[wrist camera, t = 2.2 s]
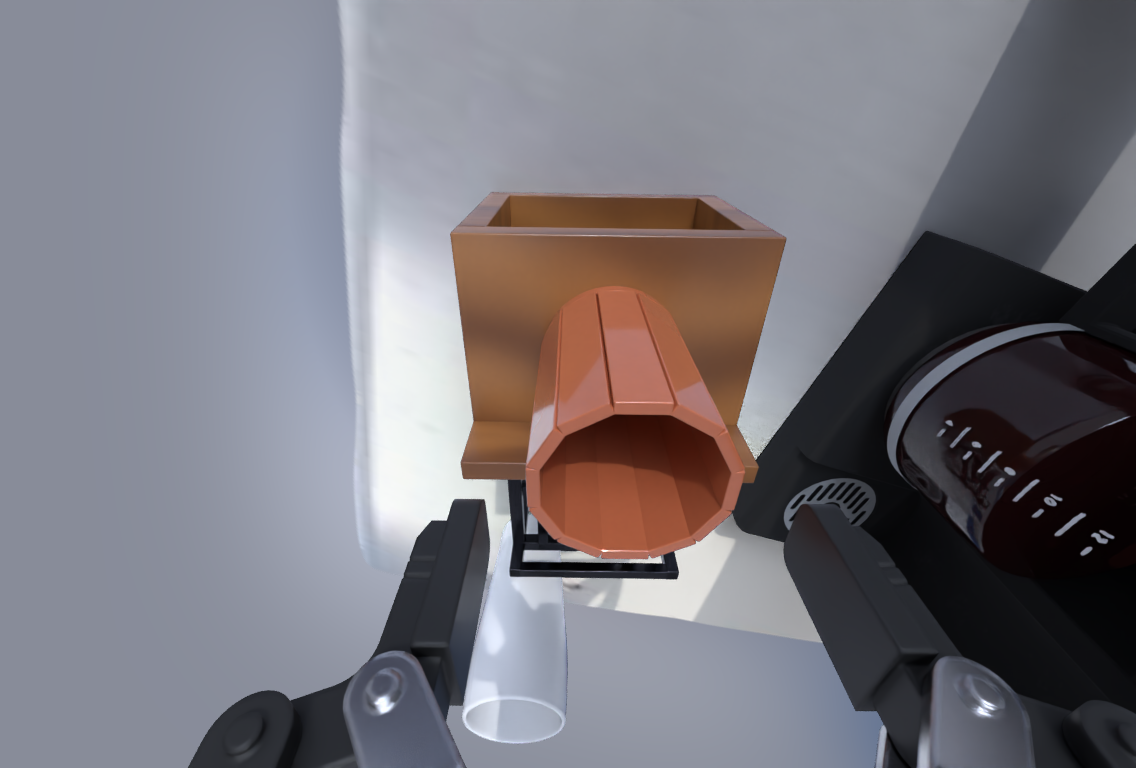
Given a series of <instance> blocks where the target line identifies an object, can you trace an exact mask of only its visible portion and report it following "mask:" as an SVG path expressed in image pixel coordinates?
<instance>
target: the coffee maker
mask: <svg viewBox="0 0 1136 768" xmlns="http://www.w3.org/2000/svg"><path fill="white" fill-rule="evenodd" d="M756 462H757V464H758V466H759V468H758V471H757V474H756V477H755V480H754V483H742V486H741V489H740V492H739V496H738V499H737V502H736V506H735V509H734V510H731V511H732V514H733V516H734V519H735V521H736V524H737V525H738V527H739V528H740V529H741V530H742V531H744V532H746V533H749V534H753V535H757V536H761V537H765V538H769V539H773V540H777V541H781V542H785V540H786V538H787V535H788V533H789V530H790V528H791V525H792V523H793V520H794V518H795V515H796V513H797V510H798V508H799V507H800V505H802V504H834V505H837V506H838V507H839V508H840V509H841V510H842V512H843V513H844V514H845V516H846V517H847V519H848V520H849V522H850V523H851V525H852V526H860V527H861V528H862V529H864V530H865V531H866V532H867V533H868V534H870V535H871V536H872V537H873V538H874V539H876V540H877V541H878V542H879V543H880V544H881V545H882V546H883V548H884V549H885V551H886V552H887V553H888V555H889V556H890V557H891V559H892V560H893V562H894V563H895V567H896V568H899V570H900V571H901V573H902V574H903V575H904V577H905V578H906V580H907V583H908V585H911V586H912V588H913V589H914V591H915V592H916V593H917V595H918V596H919V597H920V599H921V600H922V602H923V603H924V604H925V606H926V607H927V609H928V610H929V611H930V613H931V614H932V615H933V617H934V618H935V620H936V621H937V622H938V624H939V625H940V626H941V628H942V629H943V631H944V632H945V633H946V635H947V636H948V638H949V639H950V640H951V642H952V643H953V644H954V646H955V647H956V649H957V650H958V651H959V652H960V654H961V655H962V656H963V657H964V658H967V659H970V660H972V661H975V662H977V663H979V664H981V665H982V666H984V667H986V668H988V669H989V670H991V671H992V672H993V673H995V674H996V675H997V676H999V677H1000V678H1001V679H1002V680H1003V681H1005V682H1006V683H1007V684H1008V685H1009V686H1010V687H1011V688H1012V690H1013V691H1014V692H1015V693H1017V694H1020V695H1023V696H1026V697H1029V698H1032V699H1035V700H1038V701H1041V702H1045V703H1048V704H1051V705H1054V706H1057V707H1060V708H1063V709H1066V710H1070V711H1075V710H1076V709H1077V708H1079V707H1080V706H1081V705H1083V704H1084V703H1085V702H1087V701H1091V700H1100V701H1106V702H1110V703H1113V704H1116V705H1118V706H1121V707H1123V708H1125V709H1127V710H1129V711H1131V712H1133V713H1135V714H1136V244H1135V245H1134V246H1133V247H1132V248H1131V249H1130V250H1129V251H1128V252H1127V253H1126V254H1125V255H1124V256H1123V257H1122V258H1121V259H1120V260H1119V261H1118V262H1117V263H1116V264H1115V265H1114V266H1113V267H1112V268H1111V269H1110V270H1109V271H1108V272H1107V273H1106V274H1105V275H1104V276H1103V277H1102V278H1101V279H1100V280H1099V281H1098V282H1097V283H1096V284H1095V285H1094V286H1093V287H1092V288H1091V289H1090V290H1089V291H1088V292H1087V291H1084V290H1082V289H1079V288H1077V287H1074V286H1072V285H1069V284H1067V283H1065V282H1062V281H1060V280H1057V279H1055V278H1052V277H1050V276H1047V275H1045V274H1042V273H1040V272H1037V271H1035V270H1032V269H1030V268H1027V267H1025V266H1022V265H1020V264H1017V263H1015V262H1013V261H1010V260H1008V259H1005V258H1003V257H1000V256H998V255H995V254H993V253H990V252H988V251H985V250H982V249H980V248H977V247H974V246H971V245H968V244H965V243H962V242H959V241H956V240H953V239H950V238H947V237H944V236H941V235H938V234H935V233H932V232H929V231H926V232H925V233H924V234H923V236H922V237H921V238H920V240H919V241H918V242H917V244H916V245H915V247H914V248H913V249H912V251H911V252H910V253H909V255H908V256H907V257H906V259H905V260H904V261H903V263H902V264H901V266H900V267H899V268H898V270H897V271H896V272H895V274H894V275H893V276H892V278H891V279H890V280H889V282H888V283H887V284H886V286H885V287H884V289H883V290H882V291H881V293H880V294H879V295H878V297H877V298H876V299H875V301H874V302H873V303H872V305H871V306H870V307H869V309H868V310H867V312H866V313H865V314H864V316H863V317H862V318H861V320H860V321H859V322H858V324H857V325H856V326H855V328H854V329H853V330H852V332H851V333H850V335H849V336H848V337H847V339H846V340H845V341H844V343H843V344H842V345H841V347H840V348H839V349H838V351H837V352H836V353H835V355H834V356H833V358H832V359H831V360H830V362H829V363H828V364H827V366H826V367H825V368H824V370H823V371H822V372H821V374H820V375H819V376H818V378H817V379H816V381H815V382H814V383H813V385H812V386H811V387H810V389H809V390H808V391H807V393H806V394H805V395H804V397H803V398H802V399H801V401H800V402H799V404H798V405H797V406H796V408H795V409H794V410H793V412H792V413H791V414H790V416H789V417H788V418H787V420H786V421H785V422H784V424H783V425H782V427H781V428H780V429H779V431H778V432H777V433H776V435H775V436H774V437H773V439H772V440H771V441H770V443H769V444H768V446H767V447H766V448H765V450H764V451H763V452H762V454H761V455H760V456H759V458H758V459H757V460H756Z"/></svg>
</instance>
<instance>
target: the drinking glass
mask: <svg viewBox="0 0 1136 768" xmlns="http://www.w3.org/2000/svg"><path fill="white" fill-rule="evenodd" d="M526 534H538V521H537V519H536V518H535V517H534V516H533V515H532V514H529V515H528V524H527V533H526ZM512 546H513V539H512V526H511V521H509V522H508V523H507V524H506V526H505V527H504V529H503V532H502V537H501V543H500V548H499V552H498V556H497V560H496V564H495V568H494V572H493V576H492V579H491V583H490V587H489V591H488V595H487V598H486V602H485V606H484V609H483V613H482V617H481V621H480V624H479V628H478V632H477V636H476V640H475V644H474V648H473V653H472V657H471V663H470V668H469V674H468V680H467V685H466V692H465V699H464V707H463V714H462V719H463V722H464V724H465V726H466V727H467V728H468V729H469V730H470V731H471V732H473V733H474V734H476V735H478V736H480V737H483V738H485V739H488V740H492V741H496V742H503V743H514V744H517V743H518V744H521V743H532V742H538V741H542V740H545V739H549V738H551V737H553V736H555V735H556V734H558V733H559V732H560V731H561V730H562V729H563V728H564V726H565V723H566V706H567V678H568V677H567V676H568V671H567V668H568V663H567V640H566V626H565V614H564V600H563V586H562V577H510V573H509V568H510V560H511V553H512ZM523 562H561V555H560V551H541V550H525V552H524V561H523Z"/></svg>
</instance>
